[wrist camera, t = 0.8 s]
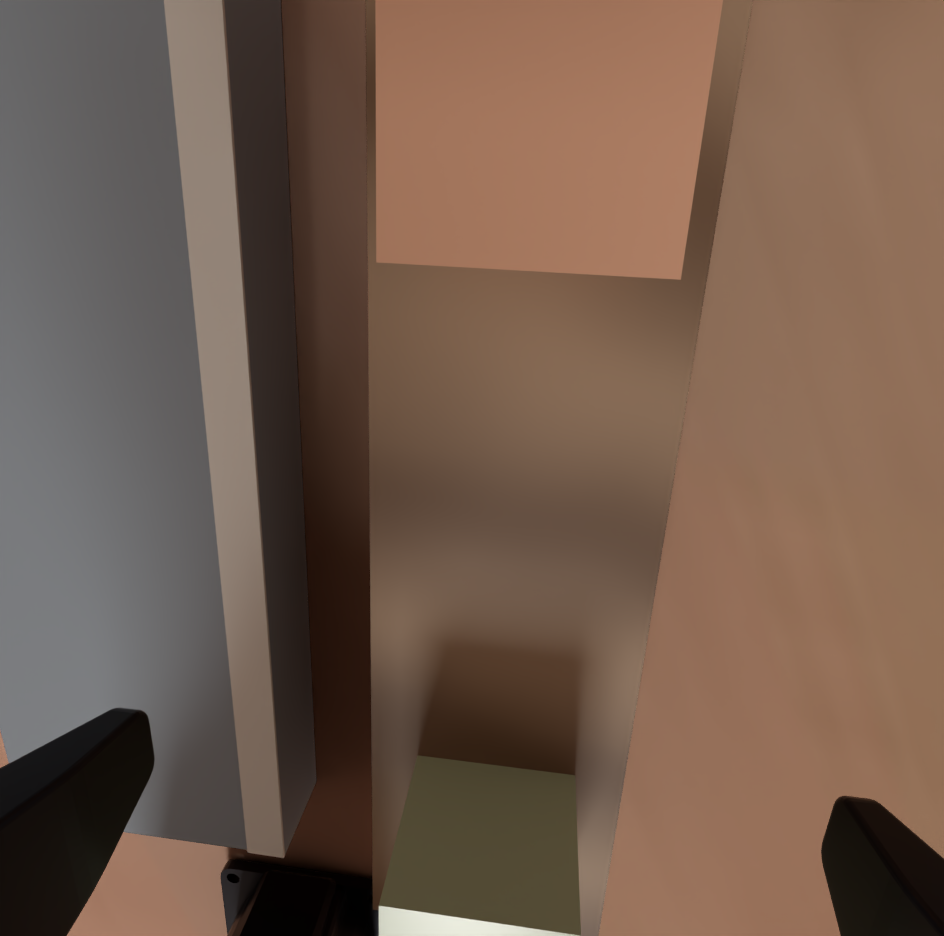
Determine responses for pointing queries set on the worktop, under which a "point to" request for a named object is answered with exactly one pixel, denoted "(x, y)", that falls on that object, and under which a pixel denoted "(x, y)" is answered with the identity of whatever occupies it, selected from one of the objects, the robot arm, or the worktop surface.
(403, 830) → the block
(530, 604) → the pallet
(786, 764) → the worktop surface
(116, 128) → the dock
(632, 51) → the salmon brown cube
